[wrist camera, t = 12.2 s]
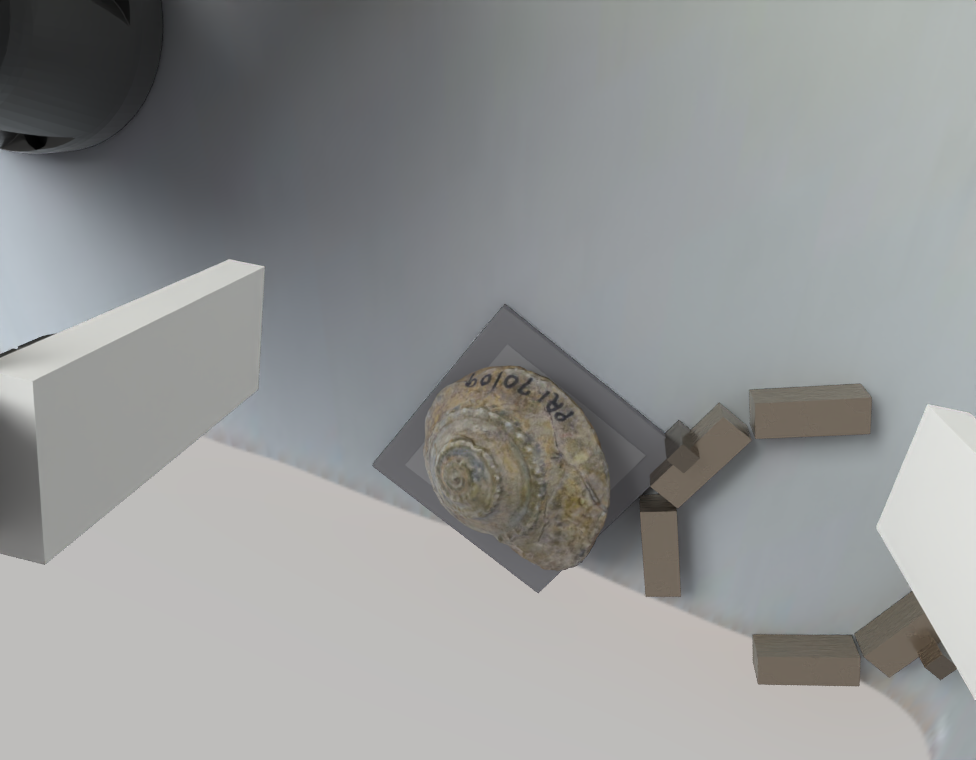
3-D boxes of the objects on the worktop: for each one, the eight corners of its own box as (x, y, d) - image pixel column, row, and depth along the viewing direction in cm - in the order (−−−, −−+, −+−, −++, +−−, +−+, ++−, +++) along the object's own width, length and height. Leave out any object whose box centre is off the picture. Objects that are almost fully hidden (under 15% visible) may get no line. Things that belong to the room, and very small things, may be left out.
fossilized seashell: (554, 331, 40) (542, 430, 35) (648, 454, 45) (650, 555, 40) (398, 398, 45) (368, 493, 40) (500, 501, 50) (485, 596, 45)
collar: (575, 521, 46) (571, 551, 43) (782, 317, 40) (794, 335, 37) (818, 712, 48) (831, 753, 45) (1054, 546, 42) (1086, 581, 39)
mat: (374, 461, 47) (371, 466, 46) (504, 303, 42) (502, 307, 41) (539, 587, 48) (538, 594, 47) (683, 448, 43) (684, 453, 43)
